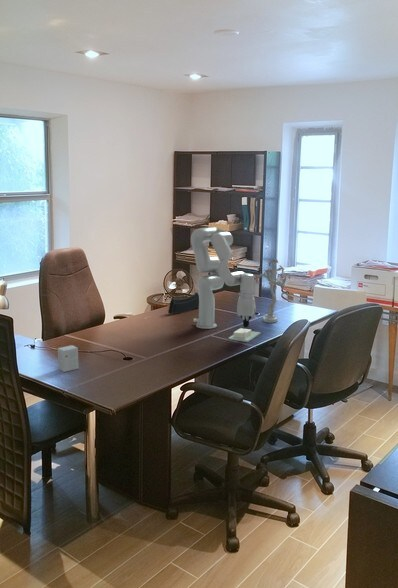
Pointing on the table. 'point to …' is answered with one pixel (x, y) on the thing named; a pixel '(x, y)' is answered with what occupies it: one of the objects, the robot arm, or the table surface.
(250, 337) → the mat
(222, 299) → the table surface
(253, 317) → the robot arm
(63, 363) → the small box
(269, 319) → the grey tall branched form
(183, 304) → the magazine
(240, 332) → the cream rectangular block
